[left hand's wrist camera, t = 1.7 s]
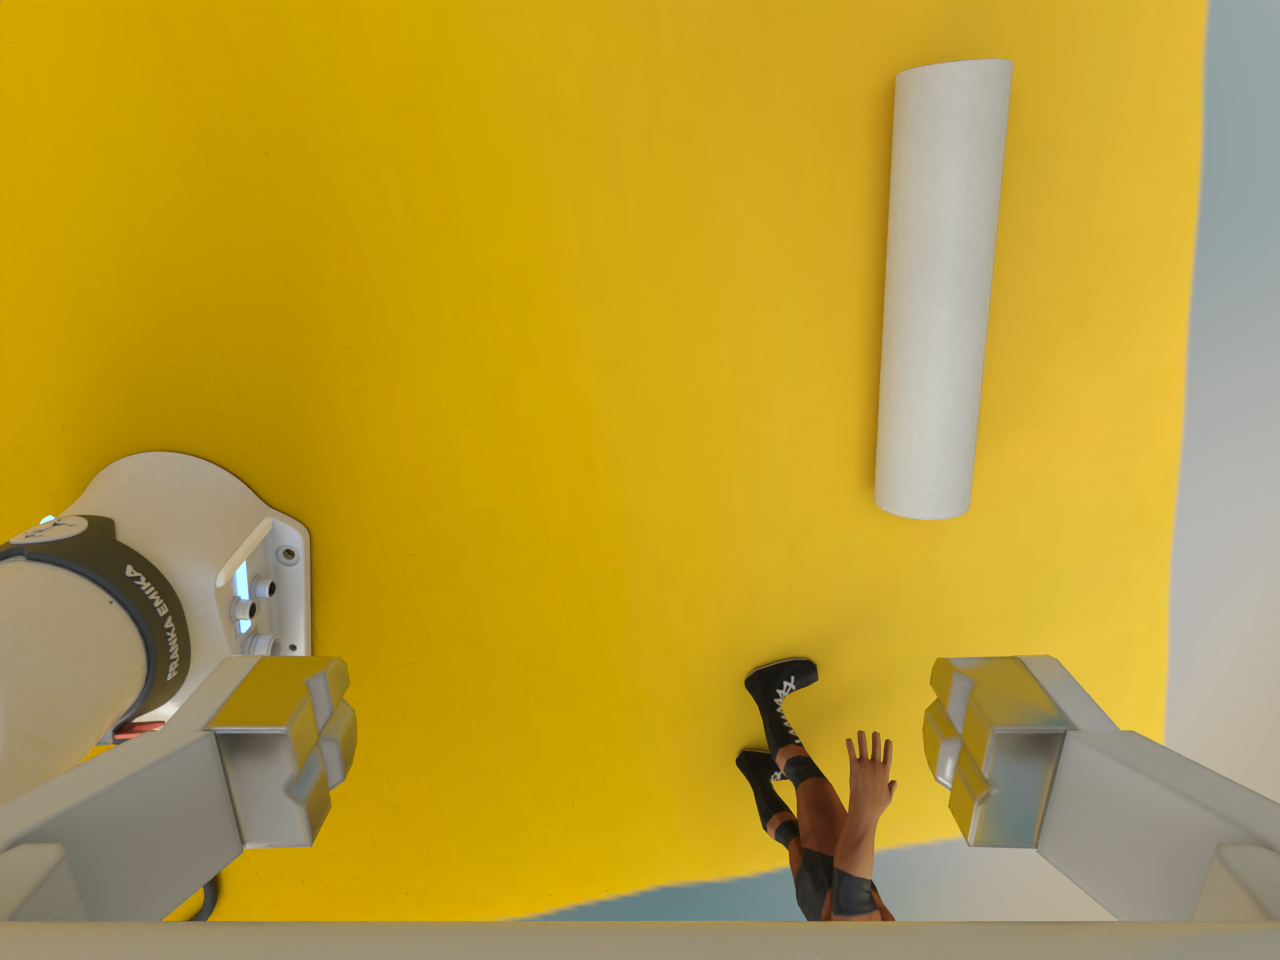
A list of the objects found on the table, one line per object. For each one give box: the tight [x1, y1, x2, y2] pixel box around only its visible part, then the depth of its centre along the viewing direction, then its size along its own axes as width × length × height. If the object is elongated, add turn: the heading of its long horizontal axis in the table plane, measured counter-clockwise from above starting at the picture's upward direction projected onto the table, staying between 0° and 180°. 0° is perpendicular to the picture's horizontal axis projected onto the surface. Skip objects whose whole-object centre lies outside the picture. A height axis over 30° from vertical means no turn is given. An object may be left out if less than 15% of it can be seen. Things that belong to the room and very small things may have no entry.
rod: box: [874, 59, 1013, 520], centre depth 48 cm, size 27×6×6 cm, turn 3°
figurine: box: [736, 658, 897, 921], centre depth 48 cm, size 24×6×30 cm, turn 177°
